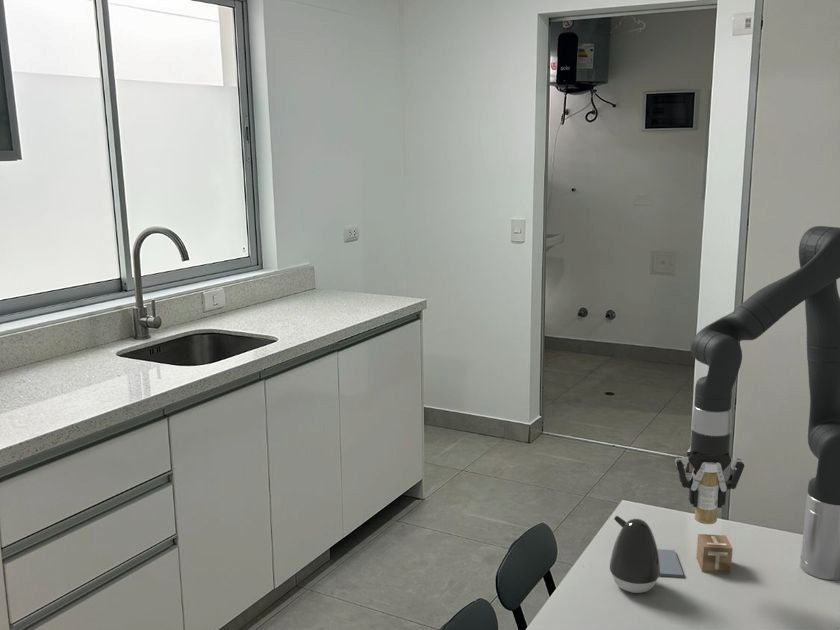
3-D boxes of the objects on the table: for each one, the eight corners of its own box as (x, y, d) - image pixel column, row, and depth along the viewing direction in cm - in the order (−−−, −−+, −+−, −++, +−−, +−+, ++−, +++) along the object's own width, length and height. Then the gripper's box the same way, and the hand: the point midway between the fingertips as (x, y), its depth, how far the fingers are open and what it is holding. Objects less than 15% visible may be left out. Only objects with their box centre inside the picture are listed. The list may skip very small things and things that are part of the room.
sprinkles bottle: (701, 513, 174) (705, 453, 171) (721, 520, 171) (725, 460, 168) (689, 519, 171) (693, 459, 169) (709, 527, 168) (713, 465, 165)
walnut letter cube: (723, 560, 184) (725, 534, 183) (730, 574, 178) (732, 548, 177) (696, 558, 185) (698, 533, 183) (702, 572, 179) (704, 546, 177)
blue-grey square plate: (674, 552, 187) (674, 550, 187) (683, 577, 176) (683, 574, 176) (625, 549, 188) (625, 547, 188) (631, 574, 178) (631, 571, 178)
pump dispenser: (624, 568, 180) (628, 504, 177) (667, 586, 173) (672, 519, 170) (598, 585, 173) (601, 519, 170) (642, 605, 166) (646, 536, 163)
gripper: (742, 422, 170) (737, 499, 173) (671, 420, 171) (667, 497, 175) (752, 435, 162) (746, 515, 166) (678, 433, 164) (674, 512, 168)
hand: (706, 505), depth 170 cm, fingers closed on sprinkles bottle, 4 cm apart
